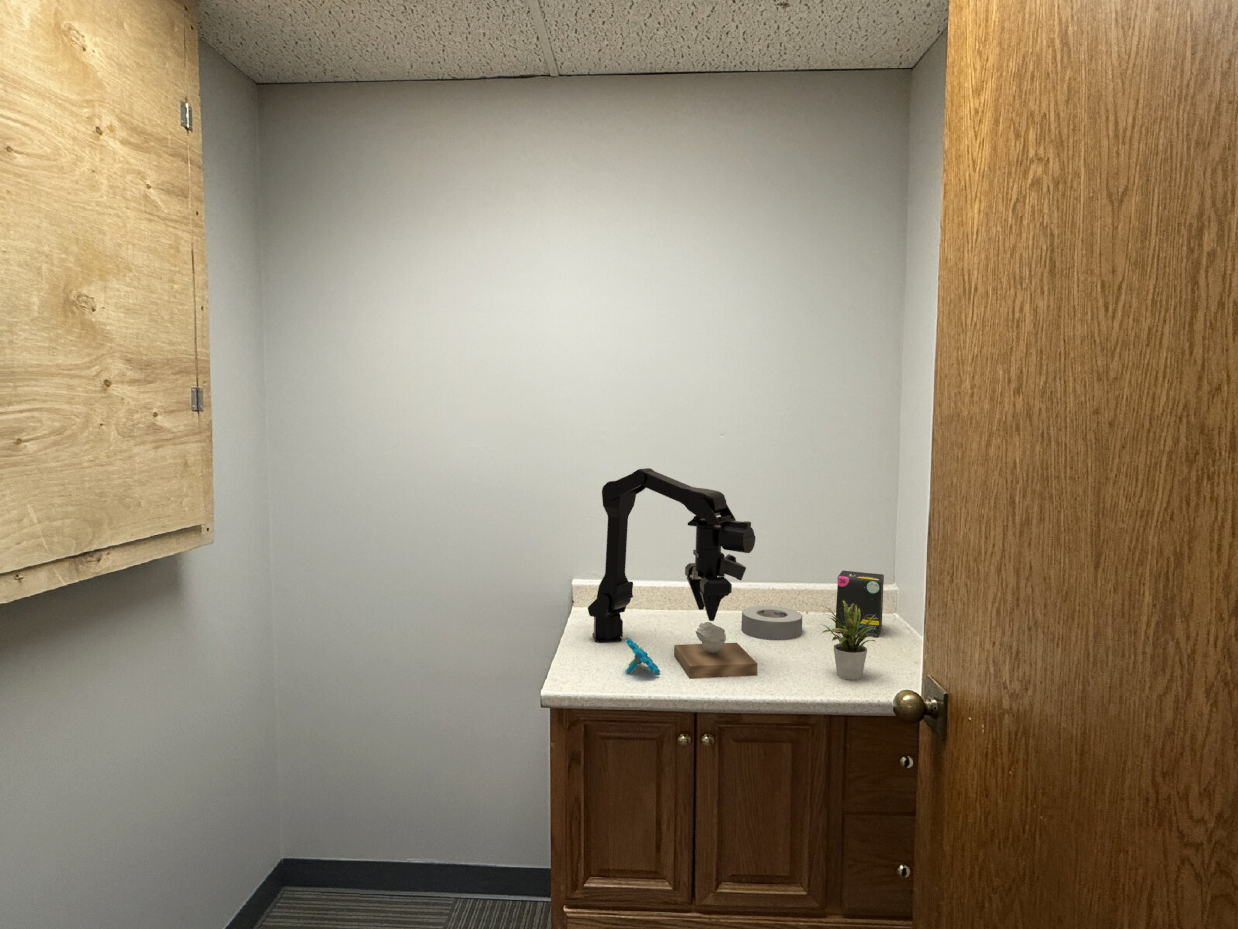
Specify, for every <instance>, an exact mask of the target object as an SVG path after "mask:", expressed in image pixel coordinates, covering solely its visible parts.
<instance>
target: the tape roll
mask: <svg viewBox="0 0 1238 929" xmlns="http://www.w3.org/2000/svg"><path fill="white" fill-rule="evenodd" d="M741 632H742V633H743V634H744V635H746V636H748V637H751V638H755V639H758V640H759V639H761V640H765V641H789V640H795V639H798V638H800V637H801V636H802V635H801V634H803V614H802V613H801V612H799V611H797V610H795V609H792V608H788V607H782V606H776V605H755V606H754V605H753V606H749V607H746V608H744V609H743V610H742V612H741ZM797 637H798V638H797Z"/></svg>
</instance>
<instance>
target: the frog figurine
mask: <svg viewBox="0 0 1238 929" xmlns="http://www.w3.org/2000/svg"><path fill="white" fill-rule="evenodd" d="M695 634H696V637H697V639H698V640H699V641H700V642H701V644H702V645H703V647H704V649H705V650H706V651H708V652H710V653H716V652H719V651H720V650H721V649H722V648H723V646H724V643H726V641H727V637H726V630H725V629H724V628H723V627H720V626H718V625H715V624H714V623H712V622H711V621H707V622H704V623H700V624H698V628H696V630H695Z"/></svg>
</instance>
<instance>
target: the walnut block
mask: <svg viewBox="0 0 1238 929" xmlns="http://www.w3.org/2000/svg"><path fill="white" fill-rule="evenodd" d="M673 657H674V659H675V660H676V661H677V663H678V664H679V665H680V667H681V668H682V670H683V672H684V673H685V674H686V676H687V677H688V678H689V680H690V679H711V678H712V679H713V678H714V679H715V678H716V679H717V678H737V677H757V676H758V662H756V660H755V659H753V657H752V656H751V655H750V654H749V653H748V652H747V651H746V650H744V648H743V647H742V646H741V645H740V644H739V643H738V642H724V646H723V648H722V649H721V650H720V651H719V652H716V653H710V652H708V651H706V650H705V649H704V647H703V645H702V643H690V644H689V643H687V644H674V647H673Z"/></svg>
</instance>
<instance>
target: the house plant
mask: <svg viewBox="0 0 1238 929" xmlns="http://www.w3.org/2000/svg"><path fill="white" fill-rule="evenodd" d="M843 604H844V615H845V623H846V626H842V624H841V623H840V622H839V620H838V619H837V617H836V613H834V612H833V611H832V610H831V609H830V608H829V607H827V606H824V605H821V604H819V606H820V607H824V608H826V609H828V610H826V611H828V612H829V613H830V614H832V615H829V614H828V616H829V617H830V619H831V620H832V621H833V622H834V623H836V625H837V626H838V628H839V629H835V628H832V629H831V628H830V627H828V626H827V625H825V624H822V623H820V625H822V626H824V627H825V628H827V629H824V630H823V631H822V632H821V634H823V633H826V632H827V633H828V632H830V635H833V637H832V639H831V642H833V641H836V640H838V641H839V642H838V643H835V644H834V645H833V653H834V661H835V669H836V675H838V676H839V678H841V679H843V678H844V680H847V679H848V680H847V681H858V680H861V679H862V678H863V673H864V668H865V664H866V658H867V654H868V648H867V647H866V646H864V644H866V643H868V642H870V641H871V642H876V640H875V639H869V640H865V639H866V638H868V637H869V636H868V635H866V634H864V633H866V632H867V631H869V630H871V629H873V628H870V629H867V630H865V631H864V629H865V628H866V627H867V625H868V624H869V623H870V622H871V621H872V620H871V619H872V618H873V617H874V616H875V615H876V614H875V615H874V616H873V617H872V618H871V619H870V620H871V621H870V620H869V621H868V622H867V623H866V624H865V625H864V627H863V628H862V629H861V631H860V632H859V634H858V635H856V634H857V631H858V627H859V622H860V617H861V614H860V609H858V613H857V605H858V604H857V605H855V608H854V610H853V605H854V603H853V604H852V605H851V606H850V609H849V610H848V606H847V604H846V603H845V601H843ZM852 610H853V613H852ZM821 615H823V616H824V615H825V616H827V614H825V613H822V614H821ZM876 619H877V618H876ZM853 620H854V621H853ZM873 620H874V619H873ZM836 621H837V622H838V623H839V624H838V623H837V622H836ZM839 625H840V626H839ZM840 627H841V628H840ZM836 631H840V632H841V633H838V632H836ZM863 631H864V632H863ZM835 633H836V634H835ZM861 633H862V634H861ZM840 634H841V635H840ZM863 634H864V635H863ZM864 640H865V641H864ZM838 676H837V677H838Z"/></svg>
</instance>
